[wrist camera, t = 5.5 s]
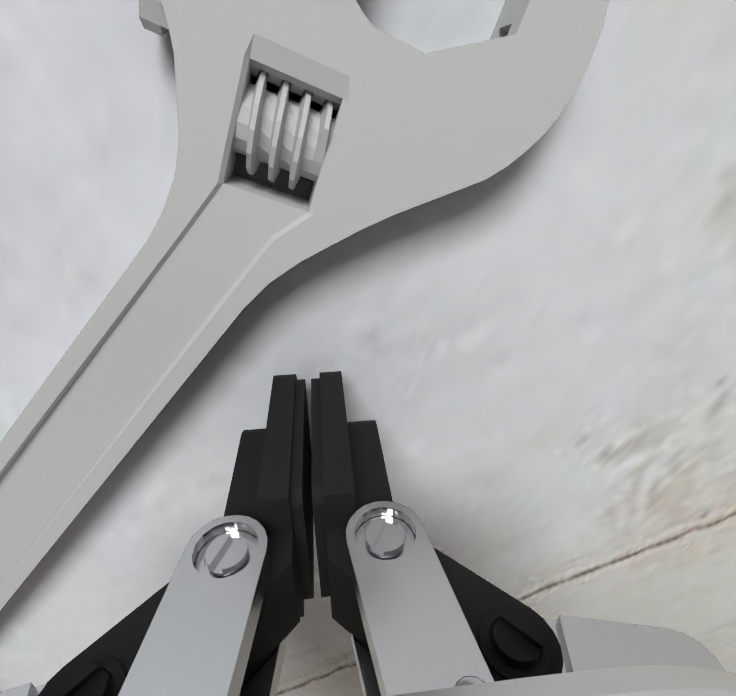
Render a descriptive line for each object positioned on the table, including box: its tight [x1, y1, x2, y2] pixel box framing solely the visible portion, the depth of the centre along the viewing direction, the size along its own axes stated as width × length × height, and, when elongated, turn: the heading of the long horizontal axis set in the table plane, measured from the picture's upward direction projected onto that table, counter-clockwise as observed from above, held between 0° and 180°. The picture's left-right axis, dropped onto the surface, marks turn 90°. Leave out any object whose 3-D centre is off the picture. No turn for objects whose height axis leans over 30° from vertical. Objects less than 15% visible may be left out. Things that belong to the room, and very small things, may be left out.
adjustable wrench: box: [0, 0, 609, 610], centre depth 10 cm, size 25×6×2 cm, turn 133°
